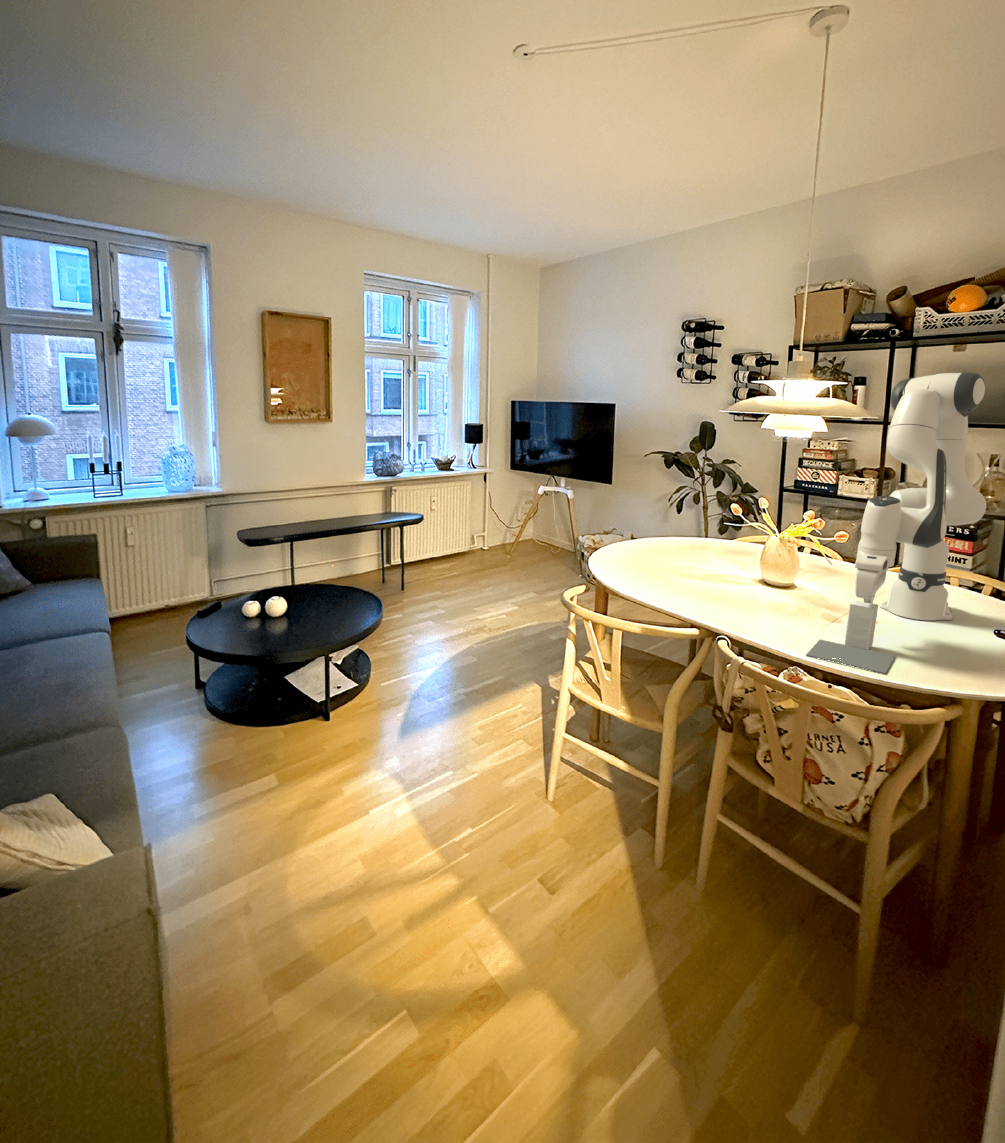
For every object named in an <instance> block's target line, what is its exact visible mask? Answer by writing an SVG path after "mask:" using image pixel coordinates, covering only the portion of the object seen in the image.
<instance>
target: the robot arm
mask: <svg viewBox="0 0 1005 1143" xmlns="http://www.w3.org/2000/svg"><path fill="white" fill-rule="evenodd" d="M985 392H986V382H985V379H984V377H983V376H982V375H981V374H980V373H978V372H971V371H963V372H943V373H942V372H941V373H940V372H939V373H936V374H929V375H924V376H918V377H909V378H905V379H902V380H900V381H899V382H897V384H896V385H895V386H894V387H893V389H892V391H891V394H890V404H891V409H892V410H893V411H894V413H893V415H892V418H891V422H890V425H889V428H888V432H887V433H888V434H887V437H886V448H887V451H888V452H889V454H890V455H891V456H892V457H893V458H894V459H895V460H897V461H898V462H900V463H902V464H904V465H906V466H910V467H912V468H914V469H916V470H918V471H920V472H922V473H923V474H925V477H926V480H927V481H926V487H908V488H903V489H902V488H901V489H897V490H894V491H893V492H891V494H890V495H880V496H874V497H872V498H869V499H868V500H867V503H866V506H865V509H864V513H863V516H862V519H861V526H860V532H861V534H860V535H861V537H860V540H859V542H858V544H857V552H856V560H855V564H854V568H855V569H857V570H856V575H855V587H854V588H855V597H856V598H861V599H863V602H865V603H871V604H874V599H875V596H876V594H877V592H878V590H880V589H881V588H882V587H883V585H884V584H885V581H886V578H887V577H886V576H887V572H888V568H892V567H894V565H895V559H896V554H897V543H900V544H904V547H903V557H902V564H901V566H900V567H899V570H898V577H897V578H898V579H897V580H895V581H893V582H892V583H891V586H890V589H889V590H890V591H889V594H888V600H886V601H884V602H882V603H880V608H881V609H883V610H884V609H885V610H887V611H889V612H890V613H891V614H892V613H893V614H894V615H897V616H900V617H902V618H907V619H912V620H921V621H942V620H944V621H945V620H946V621H947V620H948V621H952V620H953V615H952V612H951V610H950V607H949V602H948V598H949V597H948V596H949V592H948V590H947V588H945V585H944V584H945V583H946V579H947V572H946V569H947V564H948V558H949V552H950V550H949V546H948V543H946V541H944V538H945V537H946V534H947V528H948V527H947V526H956V527H957V526H963V525H970V524H971V525H972V524H975V523H977V522H979V521H980V520H981V519H982V517H983V516H984V515H985V513H986V509H987V501H986V499H985V496H984V495H983V493H981V492H980V491H979V490H977V489H976V488H975V487H974V486H973V485H972V483H971V482H970V481H969V478H968V476H967V473H966V469H965V468H966V467H965V466H966V465H965V464H966V463H965V462H966V451H967V450H966V449H967V442H968V440H967V439H968V432H969V419H968V418H969V415H970V414H971V412H973V411H974V410H976V409H977V408H978V407H979V406H980V404H982V402H983V400H984V397H985Z"/></svg>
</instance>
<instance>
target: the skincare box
mask: <svg viewBox="0 0 1005 1143" xmlns="http://www.w3.org/2000/svg"><path fill="white" fill-rule="evenodd" d="M878 609H879V604H875V603H873V604H871V603H865V602H864V601H860V600H852V602H851V603H850V604H849V609H848V610H849V611H848V618H847V626H846V632H845V640H844V645H848V646H853V647H857V648H862V649H866V650H870V649H872V647H873V644H874V637H875V630H876V623H877V617H878Z"/></svg>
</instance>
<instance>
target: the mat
mask: <svg viewBox="0 0 1005 1143" xmlns="http://www.w3.org/2000/svg"><path fill="white" fill-rule="evenodd" d="M805 657H808V658H812V657H814V659H817V658H820V659H819V660H821V659H824V660H823V661H825V660H830V661H834V662H839V663H843V664H846V665H851V666H854V667H853V668H855V667H859V668H864V669H867V670H866V671H868V670H871V671H870V672H872V671H873V672H872V673H876V672H878V673H877V674H880V673H882V674H881V675H886V673H887V672H888V671H889V669H890V667H889V666H891V665H892V663H893V661H894V659H895V657H896V656H895V655H893V654H889V653H886V652H885V653H884V652H881V651H880V652H879V651H874V650H870V649H869V650H866V649H862V648H857V647H853V646H848V645H845V644H842V643H837V642H833V641H829V640H823V639H819V640H818V641H817V642H816V643H815V644H814V645H813V646H812V648H810V650H809V651H808V652H807V653H806V654H805ZM832 658H836V659H832ZM839 658H841V659H839ZM840 660H841V661H840ZM834 662H833V663H834ZM846 665H845V666H846ZM851 666H850V667H851ZM859 668H858V669H859Z"/></svg>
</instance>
